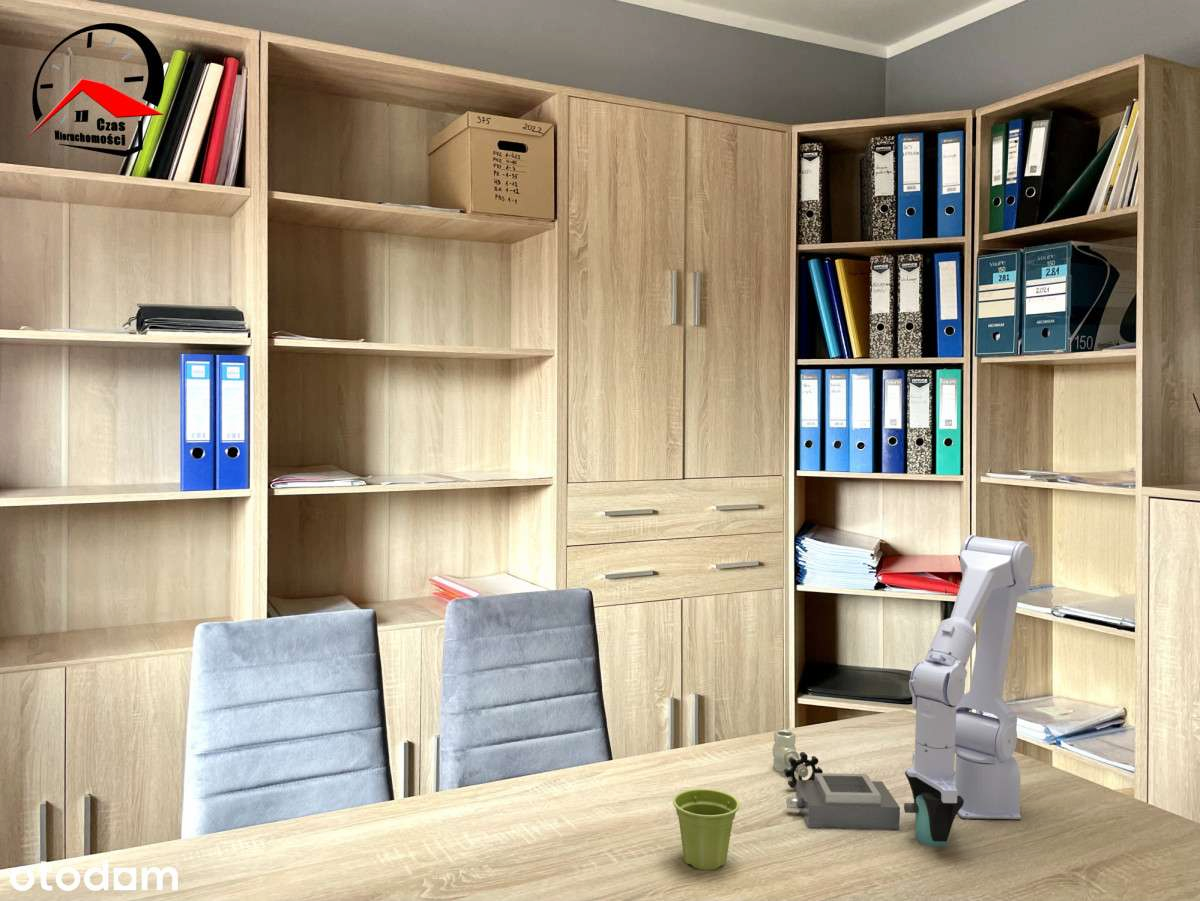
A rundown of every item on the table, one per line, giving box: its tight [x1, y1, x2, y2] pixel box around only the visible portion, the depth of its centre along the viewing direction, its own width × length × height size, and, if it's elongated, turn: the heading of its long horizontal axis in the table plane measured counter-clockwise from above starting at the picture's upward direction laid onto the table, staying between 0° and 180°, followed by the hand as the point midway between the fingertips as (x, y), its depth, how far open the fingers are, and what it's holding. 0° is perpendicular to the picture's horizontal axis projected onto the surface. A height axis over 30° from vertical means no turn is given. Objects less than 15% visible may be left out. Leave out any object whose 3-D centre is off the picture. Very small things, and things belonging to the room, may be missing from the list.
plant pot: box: [672, 788, 740, 871], centre depth 140 cm, size 9×9×9 cm
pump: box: [903, 795, 949, 848], centre depth 148 cm, size 6×5×6 cm
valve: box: [771, 729, 824, 789], centre depth 171 cm, size 7×7×12 cm
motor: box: [785, 772, 901, 830], centre depth 156 cm, size 16×10×5 cm, turn 89°
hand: (931, 829), depth 148 cm, fingers open, 6 cm apart
